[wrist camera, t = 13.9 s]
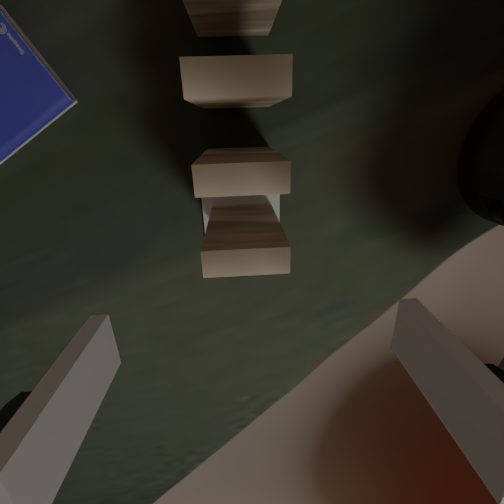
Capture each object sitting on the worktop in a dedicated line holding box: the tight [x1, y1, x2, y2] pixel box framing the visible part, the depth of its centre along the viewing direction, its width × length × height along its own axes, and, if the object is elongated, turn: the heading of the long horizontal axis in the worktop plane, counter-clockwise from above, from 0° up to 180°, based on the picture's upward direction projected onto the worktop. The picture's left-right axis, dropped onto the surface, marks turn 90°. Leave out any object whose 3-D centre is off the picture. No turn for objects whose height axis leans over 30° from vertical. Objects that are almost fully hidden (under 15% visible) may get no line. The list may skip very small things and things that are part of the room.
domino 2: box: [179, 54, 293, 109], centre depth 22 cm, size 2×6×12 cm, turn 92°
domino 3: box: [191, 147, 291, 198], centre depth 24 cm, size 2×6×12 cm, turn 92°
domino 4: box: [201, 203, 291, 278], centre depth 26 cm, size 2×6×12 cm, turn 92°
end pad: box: [201, 194, 280, 232], centre depth 31 cm, size 8×8×1 cm
